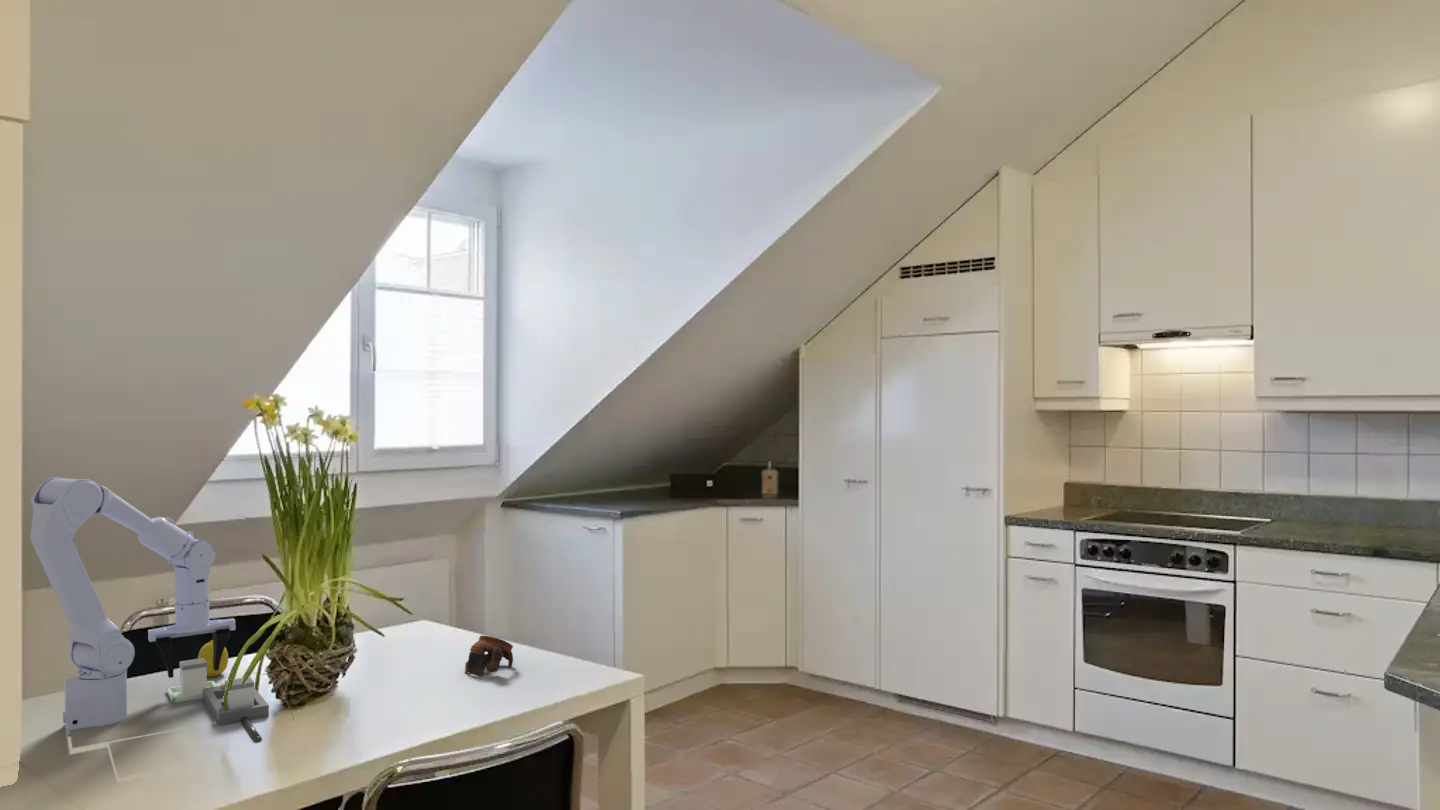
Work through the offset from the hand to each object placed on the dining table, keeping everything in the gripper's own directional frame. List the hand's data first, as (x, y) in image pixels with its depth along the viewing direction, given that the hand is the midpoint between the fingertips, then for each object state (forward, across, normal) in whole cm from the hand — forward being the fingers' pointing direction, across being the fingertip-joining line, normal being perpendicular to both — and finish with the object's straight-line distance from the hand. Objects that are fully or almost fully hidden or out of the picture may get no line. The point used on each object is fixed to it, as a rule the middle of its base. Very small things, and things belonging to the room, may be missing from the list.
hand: (193, 672), depth 186 cm
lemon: (+5, -5, -11) cm, 13 cm away
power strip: (+5, -5, +19) cm, 20 cm away
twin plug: (+4, -5, +18) cm, 19 cm away
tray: (+5, 0, 0) cm, 5 cm away
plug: (+4, 0, 0) cm, 4 cm away
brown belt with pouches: (+5, -52, +18) cm, 55 cm away
